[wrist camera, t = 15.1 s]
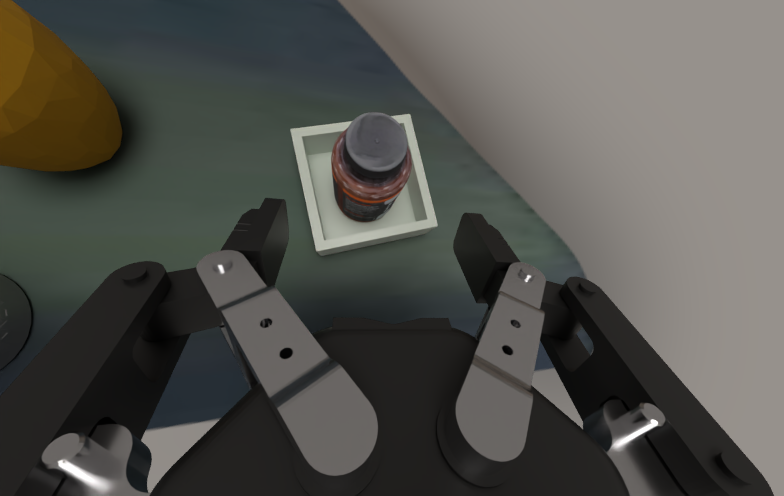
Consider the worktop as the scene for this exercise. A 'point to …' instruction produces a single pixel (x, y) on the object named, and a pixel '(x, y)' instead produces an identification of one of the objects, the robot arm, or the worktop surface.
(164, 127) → the worktop surface
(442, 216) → the worktop surface
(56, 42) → the apple
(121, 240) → the worktop surface
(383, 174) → the supplement bottle
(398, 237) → the box
